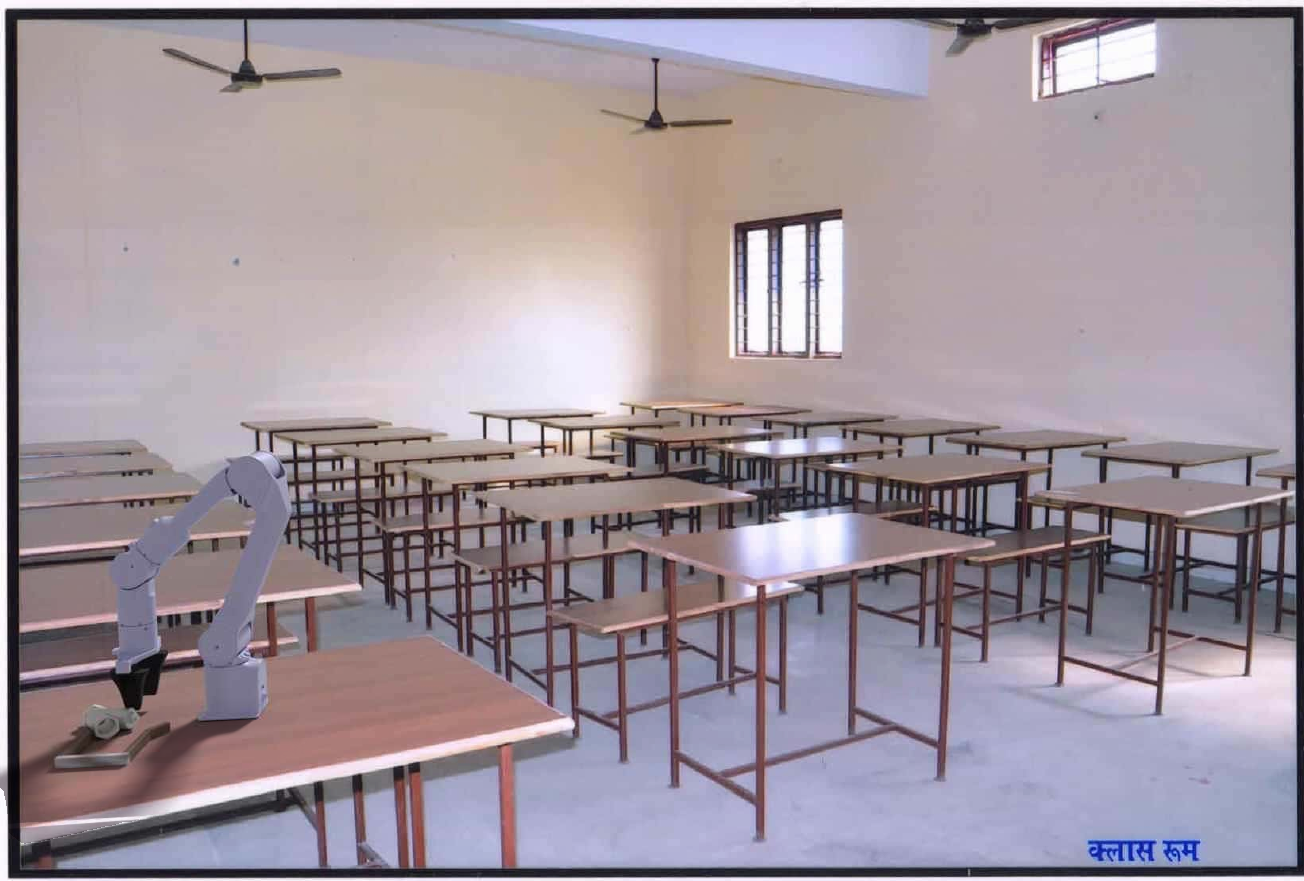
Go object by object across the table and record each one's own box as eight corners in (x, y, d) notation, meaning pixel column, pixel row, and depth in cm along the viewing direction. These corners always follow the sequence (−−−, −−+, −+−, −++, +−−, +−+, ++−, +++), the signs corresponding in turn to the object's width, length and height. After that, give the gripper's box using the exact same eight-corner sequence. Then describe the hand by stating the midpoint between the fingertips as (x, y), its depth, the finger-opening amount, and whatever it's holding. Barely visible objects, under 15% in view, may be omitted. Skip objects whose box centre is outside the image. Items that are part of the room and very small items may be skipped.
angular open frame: (171, 730, 163) (171, 721, 163) (141, 764, 150) (140, 754, 150) (79, 735, 161) (79, 725, 161) (40, 769, 148) (40, 759, 148)
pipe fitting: (140, 706, 163) (94, 718, 159) (143, 730, 163) (96, 742, 159) (126, 695, 169) (81, 706, 164) (128, 718, 169) (83, 730, 165)
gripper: (128, 611, 175) (133, 688, 176) (93, 635, 160) (98, 719, 162) (172, 610, 175) (175, 687, 177) (140, 633, 161) (145, 717, 162)
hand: (141, 702), depth 169 cm, fingers open, 7 cm apart
